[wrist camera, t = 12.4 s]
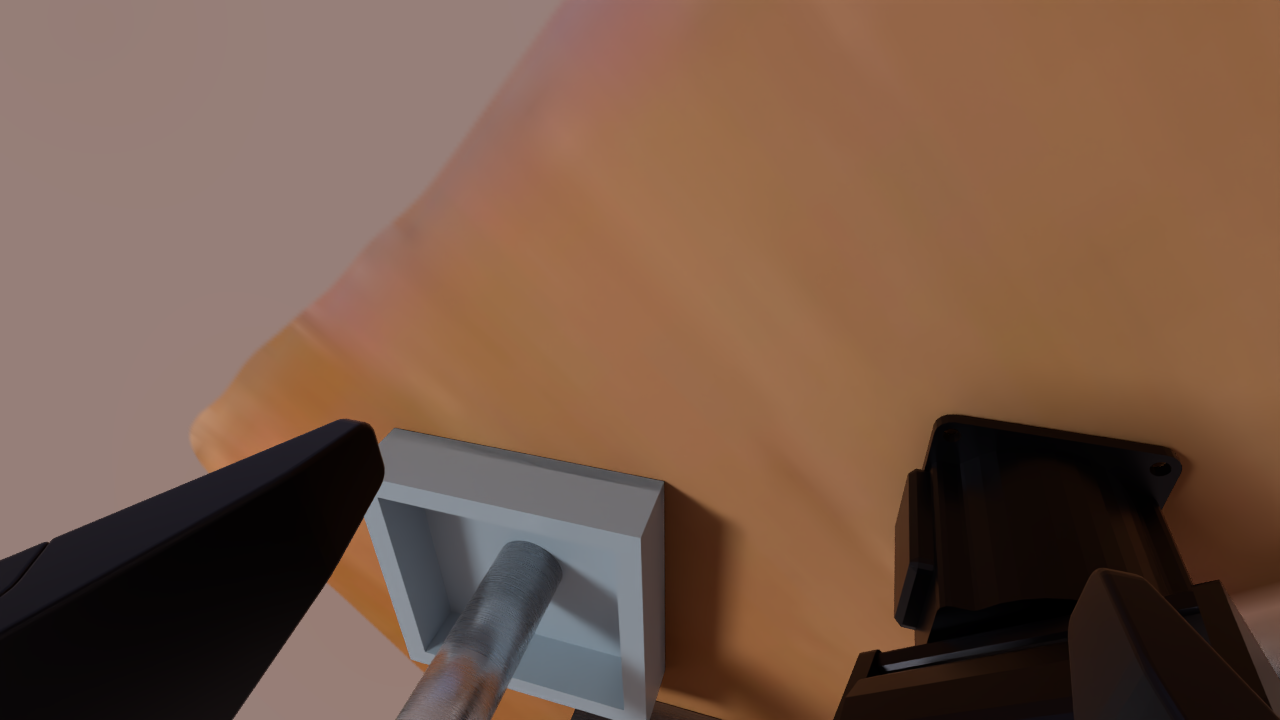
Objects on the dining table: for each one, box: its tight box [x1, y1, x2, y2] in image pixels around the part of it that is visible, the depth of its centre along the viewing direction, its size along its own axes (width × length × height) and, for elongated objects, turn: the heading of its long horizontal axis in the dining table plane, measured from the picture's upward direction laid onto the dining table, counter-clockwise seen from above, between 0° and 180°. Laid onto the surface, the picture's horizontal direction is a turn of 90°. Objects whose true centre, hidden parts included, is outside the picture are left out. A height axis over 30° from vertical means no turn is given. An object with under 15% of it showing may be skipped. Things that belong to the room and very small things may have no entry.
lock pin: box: [395, 541, 562, 720], centre depth 26 cm, size 3×3×13 cm
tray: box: [364, 428, 665, 720], centre depth 30 cm, size 12×12×3 cm
